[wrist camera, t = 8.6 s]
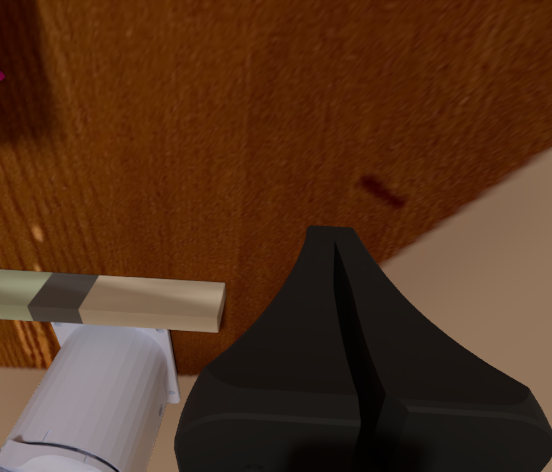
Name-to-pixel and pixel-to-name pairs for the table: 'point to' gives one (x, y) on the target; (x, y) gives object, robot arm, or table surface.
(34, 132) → the table surface
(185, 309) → the trap lane
